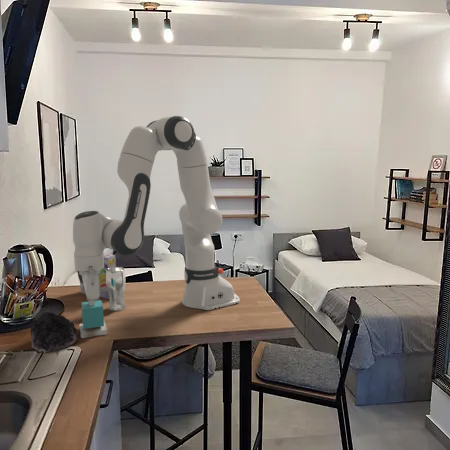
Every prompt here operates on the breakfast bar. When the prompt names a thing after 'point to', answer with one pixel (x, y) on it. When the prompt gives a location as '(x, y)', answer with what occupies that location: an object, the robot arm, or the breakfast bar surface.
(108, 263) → the cake pan box
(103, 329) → the square base with post
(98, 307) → the turquoise cube
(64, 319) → the dark grey rock
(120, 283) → the beer glass
